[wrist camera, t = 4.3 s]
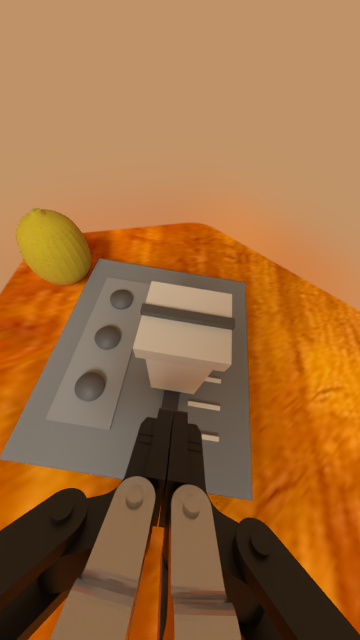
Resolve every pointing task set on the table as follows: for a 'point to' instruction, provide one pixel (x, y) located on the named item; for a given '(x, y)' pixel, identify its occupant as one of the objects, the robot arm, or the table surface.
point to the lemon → (53, 247)
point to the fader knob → (184, 335)
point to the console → (132, 387)
